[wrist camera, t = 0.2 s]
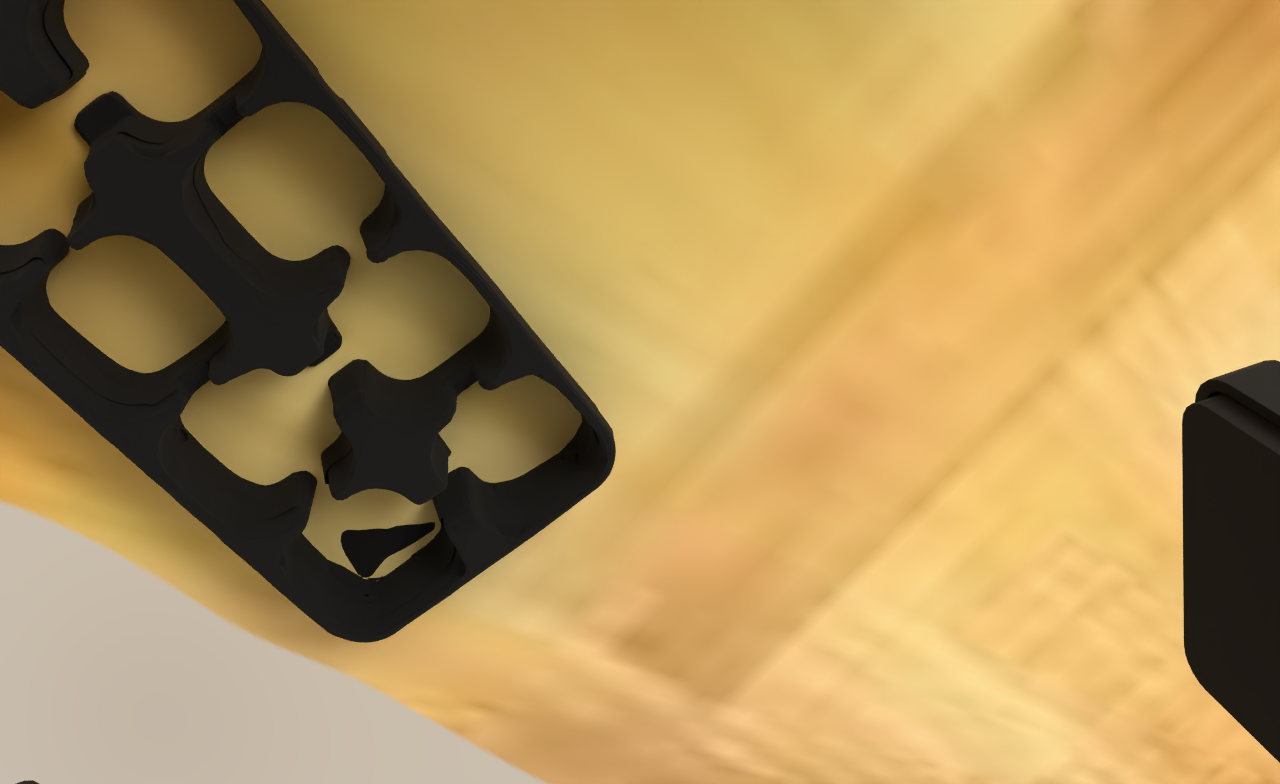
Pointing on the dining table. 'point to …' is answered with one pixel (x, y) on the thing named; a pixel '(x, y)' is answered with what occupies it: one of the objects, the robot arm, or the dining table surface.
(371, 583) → the egg carton
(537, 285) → the dining table surface
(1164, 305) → the dining table surface
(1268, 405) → the robot arm
